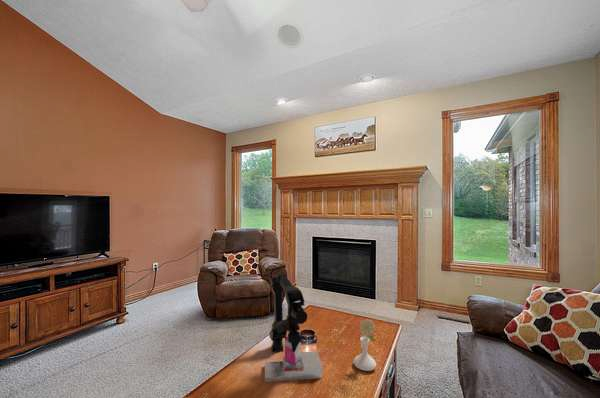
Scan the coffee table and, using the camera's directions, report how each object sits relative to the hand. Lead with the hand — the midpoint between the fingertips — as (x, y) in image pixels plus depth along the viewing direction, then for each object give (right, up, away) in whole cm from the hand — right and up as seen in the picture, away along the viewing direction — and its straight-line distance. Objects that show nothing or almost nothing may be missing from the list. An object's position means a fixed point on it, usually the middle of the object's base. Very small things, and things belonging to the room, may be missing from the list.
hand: (292, 347), depth 129 cm
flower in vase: (+37, -13, +4) cm, 39 cm away
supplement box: (0, -7, 0) cm, 7 cm away
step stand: (0, -12, 0) cm, 12 cm away
